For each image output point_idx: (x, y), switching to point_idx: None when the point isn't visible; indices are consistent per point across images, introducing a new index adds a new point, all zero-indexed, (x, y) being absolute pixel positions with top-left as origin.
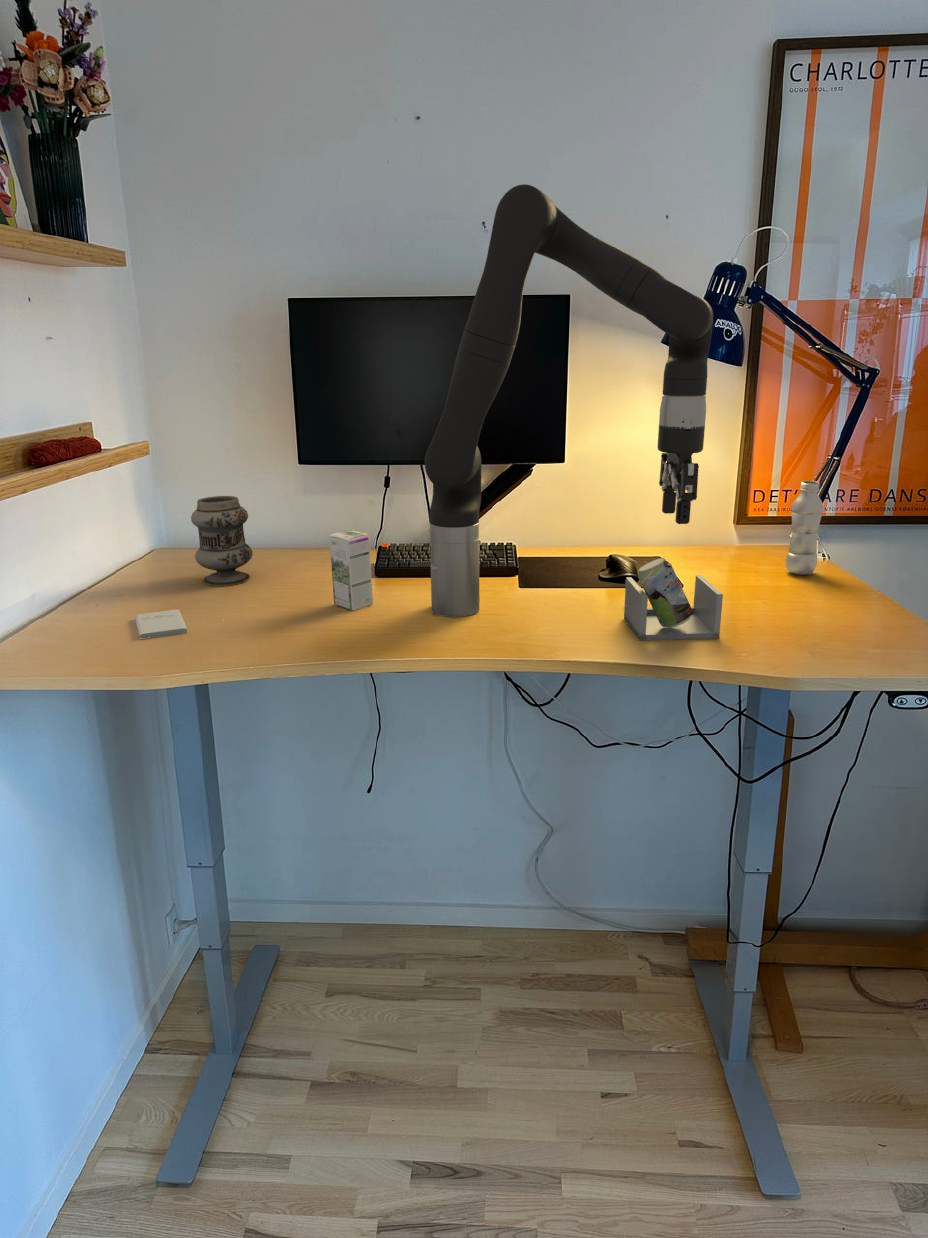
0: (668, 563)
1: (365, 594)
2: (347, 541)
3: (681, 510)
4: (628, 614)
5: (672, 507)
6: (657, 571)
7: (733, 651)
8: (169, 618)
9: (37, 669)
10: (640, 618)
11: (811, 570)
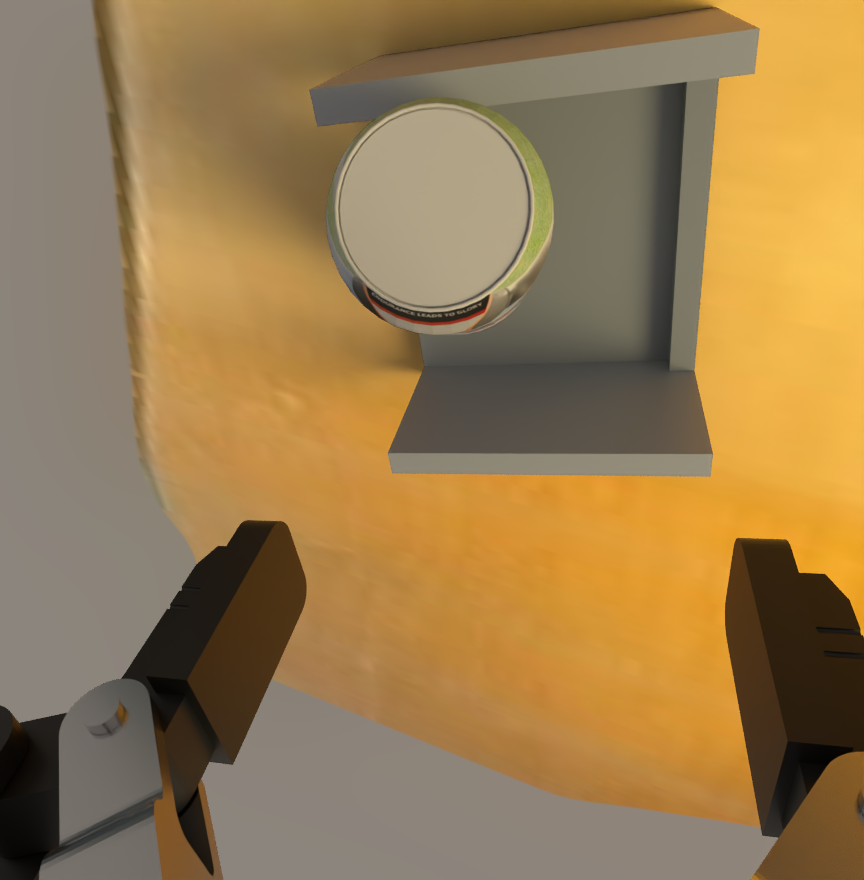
0: (394, 317)
1: None
2: None
3: (157, 626)
4: (615, 26)
5: (737, 647)
6: (330, 224)
7: (312, 381)
8: None
9: None
10: (358, 68)
11: None
